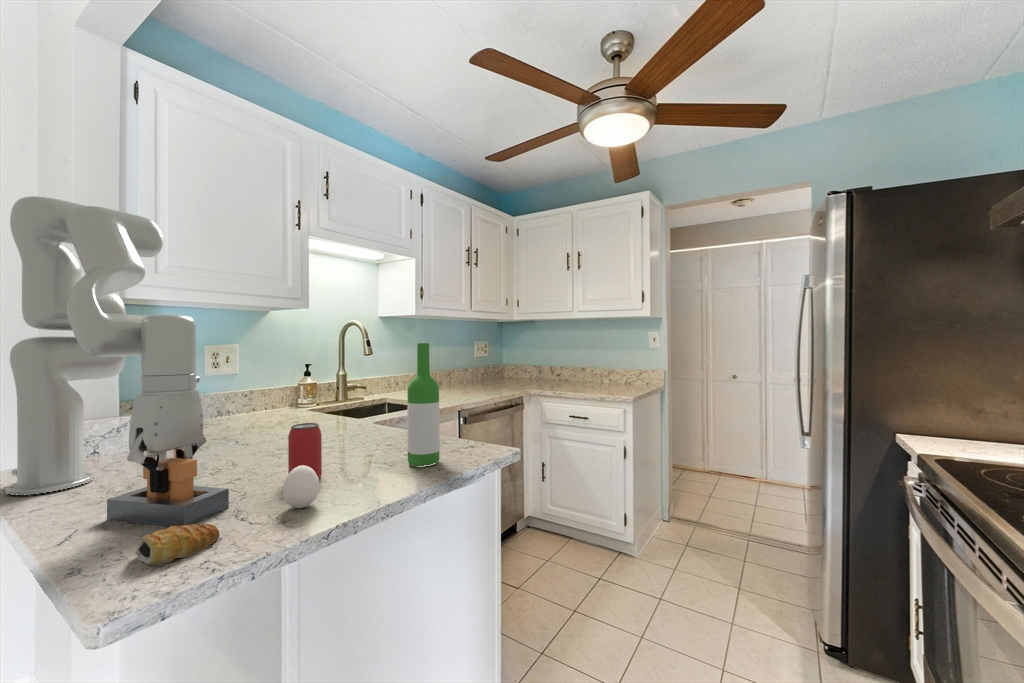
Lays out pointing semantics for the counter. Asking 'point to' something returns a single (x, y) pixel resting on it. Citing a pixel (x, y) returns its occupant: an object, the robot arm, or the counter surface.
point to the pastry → (175, 543)
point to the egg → (301, 487)
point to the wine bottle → (423, 413)
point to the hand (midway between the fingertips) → (170, 487)
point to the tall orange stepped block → (176, 479)
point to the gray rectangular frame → (167, 507)
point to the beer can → (305, 447)
